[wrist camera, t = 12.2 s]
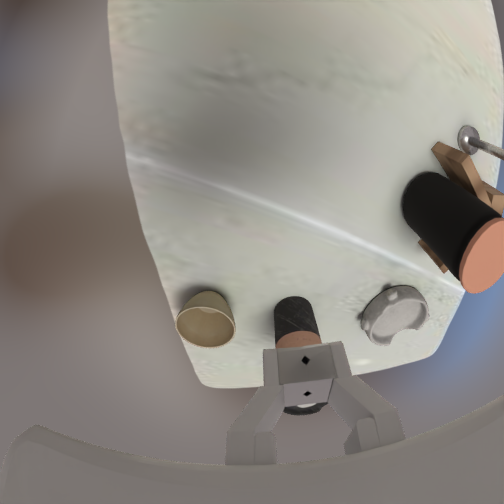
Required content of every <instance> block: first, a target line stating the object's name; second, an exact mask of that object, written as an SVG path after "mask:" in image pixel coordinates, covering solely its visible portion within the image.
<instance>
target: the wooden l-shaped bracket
mask: <svg viewBox="0 0 504 504" xmlns="http://www.w3.org/2000/svg"><path fill="white" fill-rule="evenodd" d="M431 150H432V151H433V153H434V155H435V156H436V158H437V159H438V161H439V162H440V164H441V166H442V167H443V169H444V170H445V172H446V174H447V176H448V177H449V179H450V180H451V181H452V182H454V183H456V184H457V185H459V186H460V187H462V188H464V189H465V190H467V191H468V192H470V193H471V194H473V195H474V196H476V197H477V198H479V199H480V200H481V201H483V202H484V203H486V204H487V205H489V206H490V207H491V208H493V209H494V210H495V211H497V212H498V213H499V214H500V215H501V216H502V213H503V209H504V194H503V193H501V192H500V191H498V190H497V189H495V188H494V187H492V186H490V185H489V184H487V183H485V182H484V181H482V180H481V178H480V176H479V174H478V172H477V170H476V168H475V166H474V164H473V162H472V160H471V158H470V156H469V154H466V153H464V152H462V151H460V150H457V149H455V148H453V147H450V146H448V145H445V144H443V143H440V142H437V144H436V145H435V146H434V147H433V148H432V149H431ZM418 243H419V244H420V245H421V247H422V248H423V249H424V251H425V252H426V253H427V254H428V255H429V256H430V258H431V259H432V260H433V261H434V262H435V264H436V265H437V266H438V267H439V268H440V270H441V271H442V272H443V273H445V272H446V271H447V270H449V269H448V268H447V267H446V266H445V265H444V263H443V262H442V261H441V260H440V259H439V258H438V257H437V255H436V254H435V253H434V252H433V251H432V250H431V249H430V247H429V246H428V245H427V244H426V243H425V242H424V241H423V240H422V239H421V240H420V241H419V242H418Z"/></svg>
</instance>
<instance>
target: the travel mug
mask: <svg viewBox="0 0 504 504" xmlns="http://www.w3.org/2000/svg"><path fill="white" fill-rule="evenodd" d="M274 321H275V346H276V348H290V347H303V346H307V345H314V344H322V342H321V338H320V335H319V331H318V327H317V324H316V320H315V317H314V313H313V310H312V306H311V304H310V303H309V301H308V300H306V299H305V298H302V297H288V298H285V299H283V300H282V301H280V302H279V303H278V304H277V305H276V307H275V310H274ZM326 404H328V402H322V403H313V404H304V405H297V406H289V407H285V408H284V410H283V412H285V413H287V414H291V415H307V414H313V413H316V412H319V411H320V410H321V408H322V407H323V406H324V405H326Z"/></svg>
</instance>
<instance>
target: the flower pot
mask: <svg viewBox="0 0 504 504" xmlns="http://www.w3.org/2000/svg"><path fill="white" fill-rule="evenodd" d="M175 327H176V330H177V332H178V334H179V335H180V336H181V337H182V338H183V339H184V340H185V341H187V342H188V343H190V344H192V345H195V346H198V347H202V348H218V347H222V346H224V345H226V344H228V343H229V342H230V341H231V340H232V339H233V338H234V336H235V332H236V329H235V322H234V318H233V314H232V312H231V309H230V307H229V306H228V304H227V302H226V301H225V300H224V299H223V297H222V296H221V295H219V294H218V293H216V292H214V291H203V292H201V293H199V294H197V295H195V296H194V297H192V298H191V299H190V300H189V301H188V302H187V303H186V304H185V305H184V306H183V308H182V309H181V311H180V312H179V314H178V316H177V318H176V321H175Z"/></svg>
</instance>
